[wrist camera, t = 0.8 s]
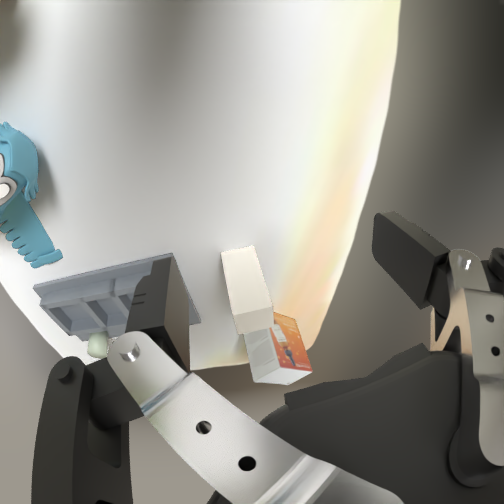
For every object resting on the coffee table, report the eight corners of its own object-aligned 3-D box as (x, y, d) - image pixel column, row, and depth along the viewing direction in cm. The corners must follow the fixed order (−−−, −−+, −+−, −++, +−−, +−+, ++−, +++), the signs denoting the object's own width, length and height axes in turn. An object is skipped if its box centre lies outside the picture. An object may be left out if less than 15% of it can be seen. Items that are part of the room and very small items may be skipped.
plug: (220, 252, 33) (232, 315, 26) (253, 245, 33) (272, 306, 27) (225, 274, 35) (238, 334, 29) (256, 267, 36) (274, 326, 29)
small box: (295, 318, 47) (314, 371, 39) (272, 334, 49) (288, 385, 42) (263, 306, 42) (281, 367, 35) (240, 324, 44) (253, 383, 37)
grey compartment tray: (33, 285, 29) (25, 311, 26) (172, 253, 31) (172, 283, 28) (82, 338, 39) (79, 361, 36) (200, 319, 41) (203, 345, 38)
